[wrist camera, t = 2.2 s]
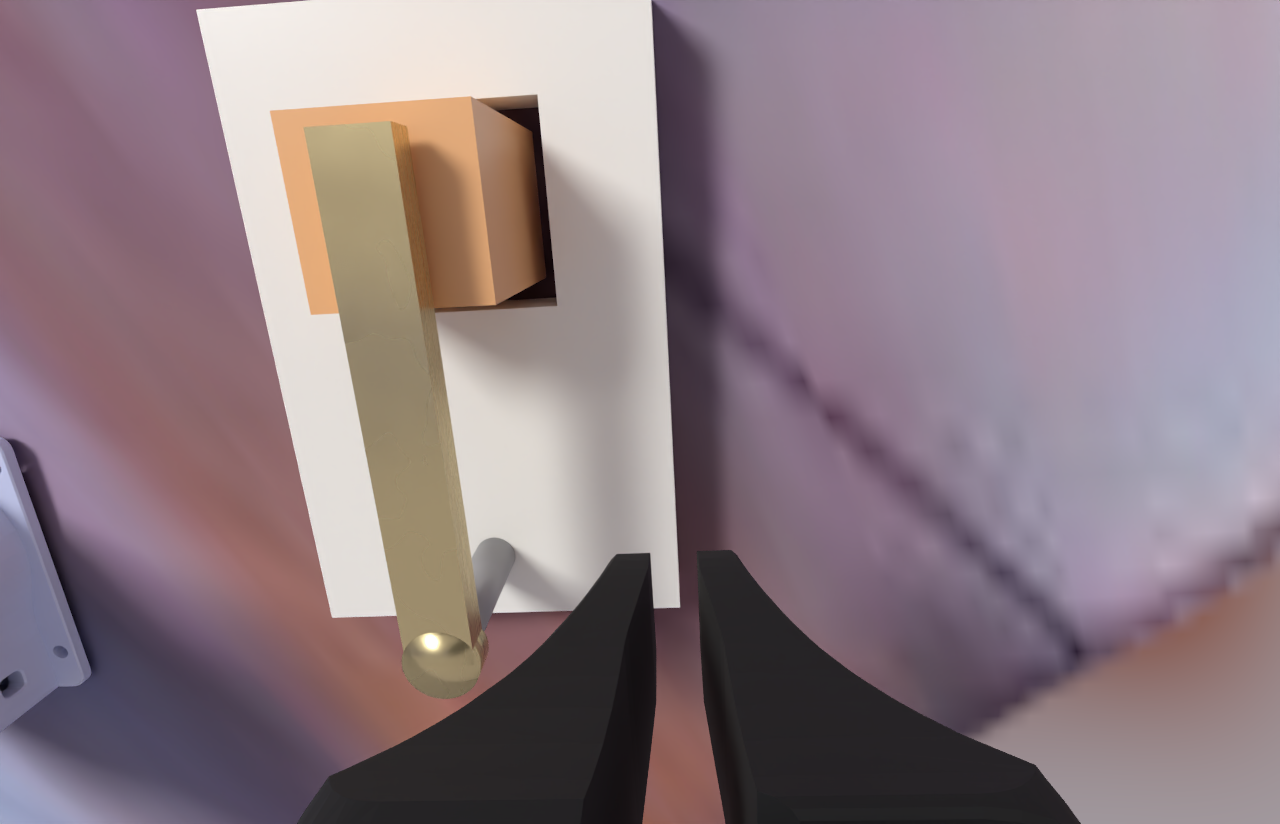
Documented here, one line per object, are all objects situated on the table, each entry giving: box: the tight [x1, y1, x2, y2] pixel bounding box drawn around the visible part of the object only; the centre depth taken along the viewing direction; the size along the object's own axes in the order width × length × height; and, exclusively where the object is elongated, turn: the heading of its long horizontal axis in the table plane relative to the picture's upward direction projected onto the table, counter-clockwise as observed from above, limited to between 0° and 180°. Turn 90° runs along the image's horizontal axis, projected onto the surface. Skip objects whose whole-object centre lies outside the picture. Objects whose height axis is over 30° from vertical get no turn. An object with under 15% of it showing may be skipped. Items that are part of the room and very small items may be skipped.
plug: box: [270, 96, 546, 315], centre depth 16 cm, size 4×4×6 cm
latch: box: [304, 121, 489, 699], centre depth 14 cm, size 12×2×1 cm, turn 3°
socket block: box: [196, 0, 680, 631], centre depth 17 cm, size 17×11×6 cm, turn 3°
